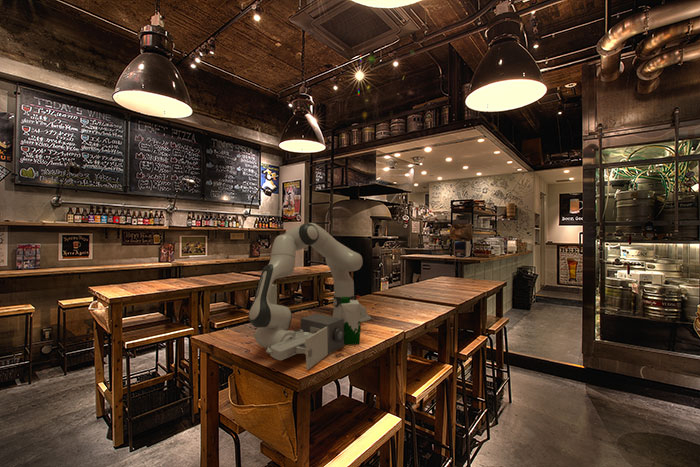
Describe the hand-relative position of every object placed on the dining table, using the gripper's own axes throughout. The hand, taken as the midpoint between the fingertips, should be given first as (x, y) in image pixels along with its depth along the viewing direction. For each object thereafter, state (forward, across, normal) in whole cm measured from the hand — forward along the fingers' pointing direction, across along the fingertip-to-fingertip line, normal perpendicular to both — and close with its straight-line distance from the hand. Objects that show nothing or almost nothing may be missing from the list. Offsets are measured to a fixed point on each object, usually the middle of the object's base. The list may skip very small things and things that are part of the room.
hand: (309, 350), depth 115 cm
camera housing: (-9, +17, +6) cm, 21 cm away
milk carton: (-4, +29, +6) cm, 30 cm away
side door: (0, +5, +6) cm, 7 cm away
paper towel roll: (-56, +25, +6) cm, 62 cm away
